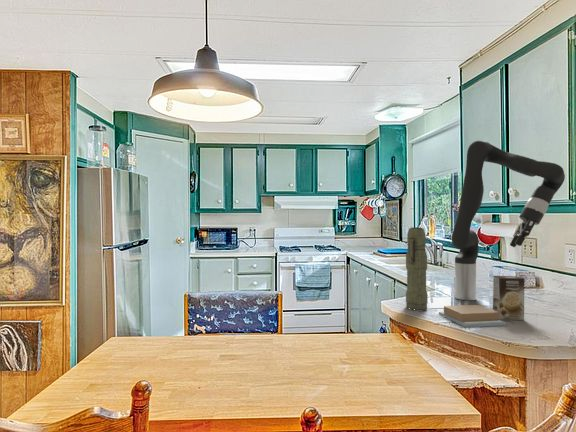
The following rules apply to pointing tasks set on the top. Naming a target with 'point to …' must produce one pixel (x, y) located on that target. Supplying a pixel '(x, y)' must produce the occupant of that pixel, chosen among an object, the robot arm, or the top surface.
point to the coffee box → (508, 297)
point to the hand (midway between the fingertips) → (514, 245)
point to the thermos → (416, 269)
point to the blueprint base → (472, 315)
